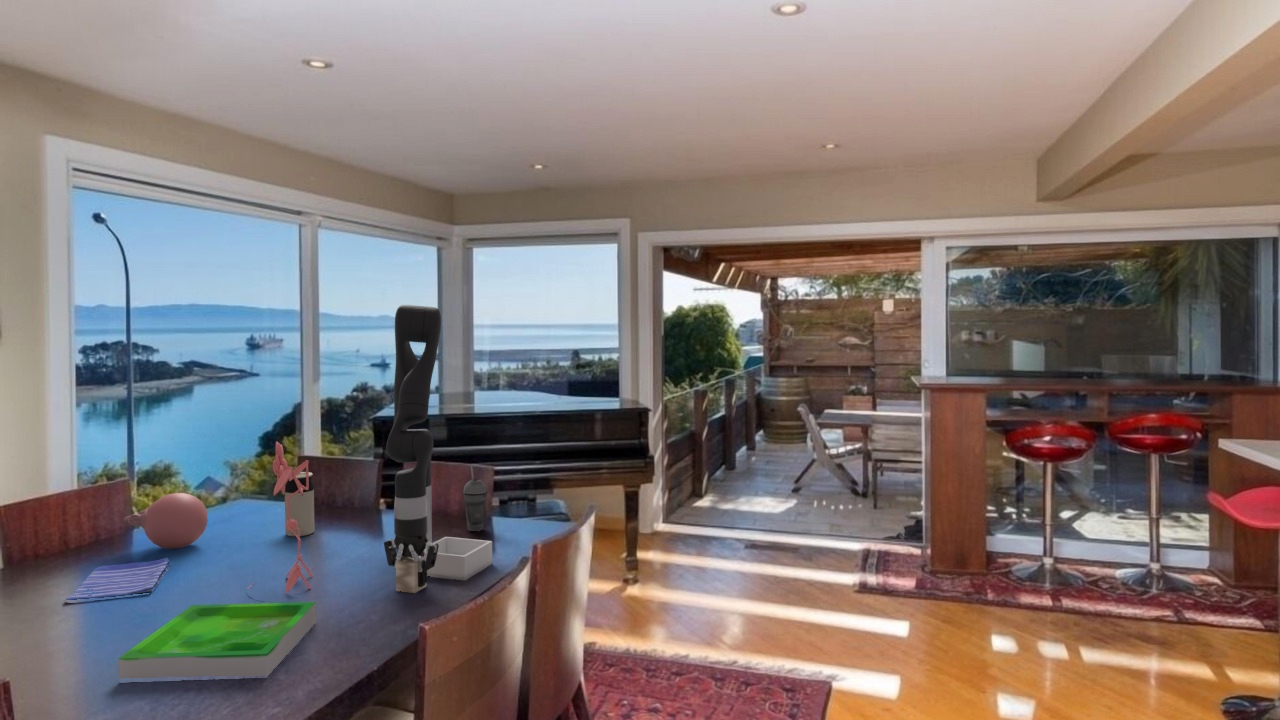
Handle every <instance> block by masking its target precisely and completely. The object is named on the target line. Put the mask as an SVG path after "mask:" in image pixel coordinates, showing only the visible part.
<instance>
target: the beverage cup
mask: <svg viewBox="0 0 1280 720" xmlns="http://www.w3.org/2000/svg"><path fill="white" fill-rule="evenodd" d="M470 471H471V472H470V473H471V474H470V475H471V480H469V481H468V482H466V484H465V485H464V487H463V492H462V494H463V499H464V505H465V507H464V508H465V516H466V517H465V518H466V524H467V531H468V530H469V531H468V532H470V531H478V532H481V531H480V530H482V529H483V530H484V523H485V521H484V520H485V508H486V499H487V495H488V494H487V493H488V491H487V487H486V485H485V483H484V481H482V480H481V479H474V472H473V471H474V470H473V465H472V464H470ZM483 530H482V531H483Z"/></svg>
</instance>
